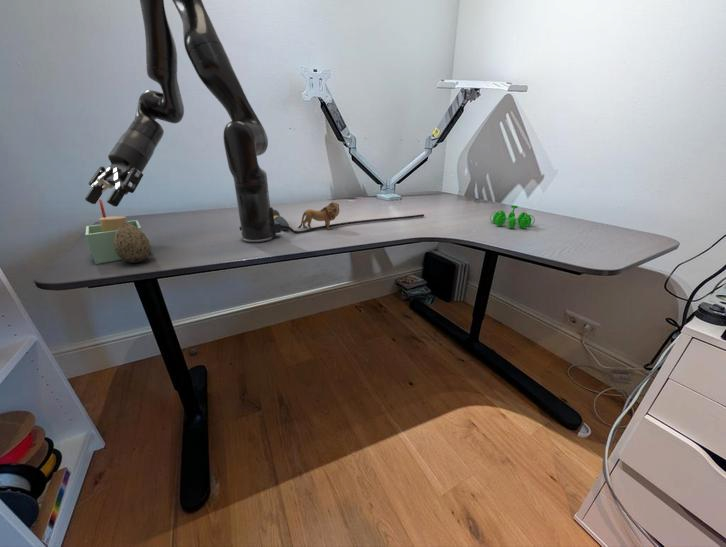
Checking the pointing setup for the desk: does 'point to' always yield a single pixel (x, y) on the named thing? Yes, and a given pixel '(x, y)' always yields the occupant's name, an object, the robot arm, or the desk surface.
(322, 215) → the lion figurine
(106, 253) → the bin
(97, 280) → the desk surface
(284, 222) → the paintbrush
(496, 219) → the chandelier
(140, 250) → the decorative egg
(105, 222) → the paper cup
